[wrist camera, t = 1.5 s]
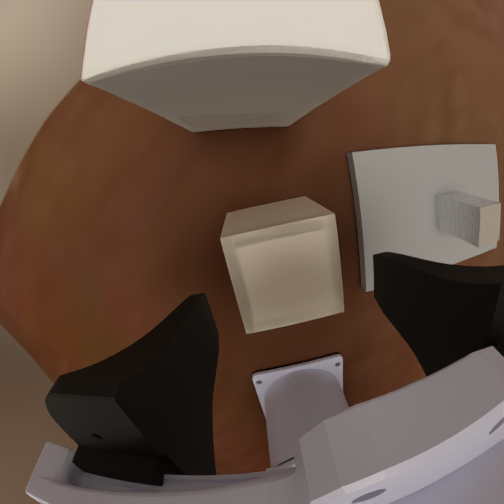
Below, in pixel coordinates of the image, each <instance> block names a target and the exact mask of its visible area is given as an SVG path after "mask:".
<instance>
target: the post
mask: <svg viewBox="0 0 504 504" xmlns="http://www.w3.org/2000/svg"><path fill="white" fill-rule="evenodd" d="M435 204H436V228H438V229H440V230H443V231H445V232H447V233H449V234H451V235H453V236H456V237H458V238H460V239H462V240H464V241H466V242H468V243H470V244H472V245H474V246H476V247H478V248H479V247H482V246H485V245H487V244H490V243H492V242H495V241H498V240H499V233H500V213H501V203H499V202H496V201H492V200H489V199H486V198H482V197H479V196H475V195H471V194H467V193H464V192H460V191H452V192H447V193H441V194H435Z"/></svg>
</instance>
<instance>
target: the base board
mask: <svg viewBox="0 0 504 504" xmlns="http://www.w3.org/2000/svg"><path fill="white" fill-rule="evenodd" d="M346 154H347V159H348V165H349V171H350V177H351V184H352V191H353V198H354V206H355V214H356V223H357V233H358V244H359V257H360V273H361V287H362V288H363V289H364V290H365V291H366V292H368V291H372V290H374V271H373V255H374V254H378V253H382V252H393V253H399V254H403V255H408V256H412V257H416V258H421V259H425V260H429V261H434V262H440V263H445V264H455V263H458V262H460V261H463V260H466V259H468V258H471V257H473V256H476V255H479V254H481V253H484V252H486V251H489V250H491V249H493V248H496V246H497V241H495V242H492V243H490V244H487V245H485V246H482V247H479V248H478V247H476V246H474V245H472V244H470V243H468V242H466V241H464V240H462V239H460V238H458V237H456V236H453V235H451V234H449V233H447V232H445V231H443V230H440V229H438V228H436V204H435V194H441V193H447V192H452V191H460V192H464V193H467V194H471V195H475V196H479V197H482V198H486V199H489V200H492V201H496V202H499V184H498V165H497V154H496V145H495V144H441V145H421V146H406V147H394V148H384V149H374V150H365V151H357V152H349V153H346Z"/></svg>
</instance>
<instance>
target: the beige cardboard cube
mask: <svg viewBox="0 0 504 504" xmlns="http://www.w3.org/2000/svg"><path fill="white" fill-rule="evenodd" d="M220 240H221V244H222V248H223V252H224V255H225V259H226V263H227V267H228V270H229V274H230V278H231V281H232V285H233V289H234V292H235V296H236V299H237V303H238V306H239V310H240V314H241V317H242V321H243V324H244V328H245V331H246V334H250V333H255V332H260V331H265V330H270V329H274V328H279V327H284V326H288V325H293V324H297V323H301V322H305V321H309V320H314V319H318V318H322V317H325V316H329V315H333V314H337V313H341V312H344V298H343V284H342V272H341V262H340V252H339V243H338V234H337V226H336V219H335V213H333V212H331V211H330V210H328V209H326V208H325V207H323V206H321V205H319V204H318V203H316V202H314V201H313V200H311V199H309V198H307V197H306V196H303V197H298V198H293V199H288V200H283V201H278V202H274V203H269V204H264V205H259V206H255V207H250V208H246V209H241V210H237V211H233V212H228V213H227V214H226V218H225V222H224V225H223V229H222V233H221V236H220Z"/></svg>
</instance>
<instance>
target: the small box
mask: <svg viewBox="0 0 504 504" xmlns="http://www.w3.org/2000/svg"><path fill="white" fill-rule="evenodd" d="M82 61H83V62H82V72H81V81H83V82H85V83H87V84H89V85H92V86H94V87H97V88H99V89H102V90H104V91H107V92H109V93H111V94H114V95H116V96H118V97H120V98H123V99H125V100H127V101H129V102H131V103H134V104H136V105H138V106H140V107H142V108H145V109H147V110H149V111H151V112H153V113H155V114H157V115H159V116H161V117H163V118H165V119H167V120H169V121H171V122H173V123H175V124H177V125H179V126H181V127H183V128H185V129H187V130H189V131H191V132H201V131H211V130H222V129H236V128H255V127H287V126H290V125H291V124H293V123H294V122H296V121H297V120H299V119H300V118H302V117H303V116H305V115H306V114H307V113H309V112H310V111H312V110H313V109H315V108H316V107H318V106H320V105H321V104H323V103H324V102H326V101H327V100H329V99H330V98H332V97H334V96H335V95H337V94H338V93H340V92H341V91H343V90H345V89H346V88H348V87H349V86H351V85H353V84H355V83H356V82H358V81H360V80H362V79H363V78H365V77H367V76H369V75H370V74H372V73H374V72H376V71H378V70H380V69H382V68H384V67H386V66H388V64H389V62H390V50H389V45H388V39H387V33H386V28H385V24H384V20H383V16H382V12H381V8H380V4H379V0H92V4H91V8H90V14H89V19H88V24H87V30H86V36H85V43H84V51H83V60H82Z"/></svg>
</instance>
